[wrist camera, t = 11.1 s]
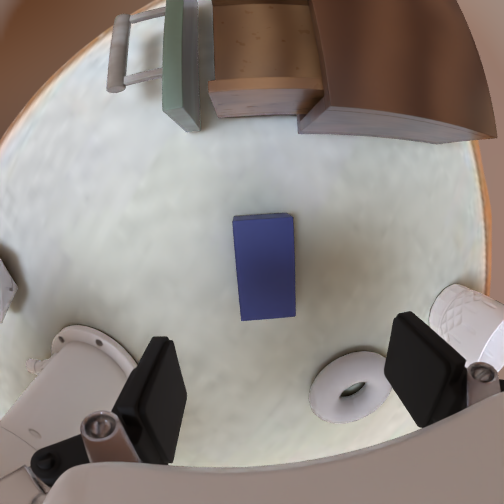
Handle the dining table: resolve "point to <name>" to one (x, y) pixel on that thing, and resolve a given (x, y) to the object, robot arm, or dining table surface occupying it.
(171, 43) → the drawer
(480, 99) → the cabinet
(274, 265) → the tall navy block
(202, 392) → the dining table surface
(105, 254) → the dining table surface
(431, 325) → the white cup
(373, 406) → the donut
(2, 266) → the die
